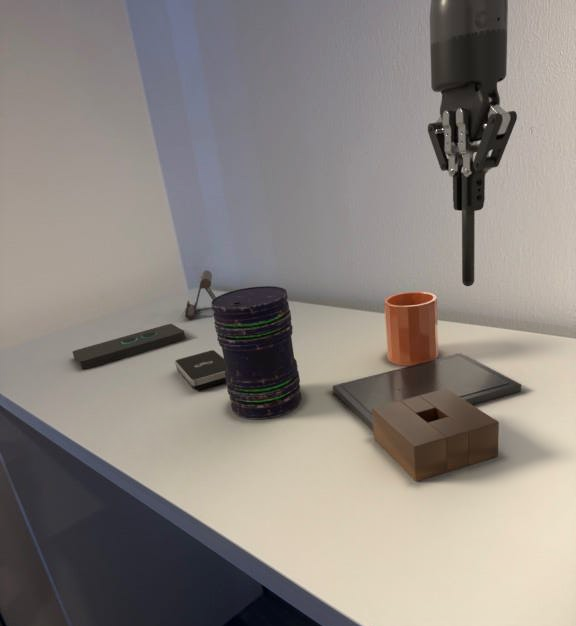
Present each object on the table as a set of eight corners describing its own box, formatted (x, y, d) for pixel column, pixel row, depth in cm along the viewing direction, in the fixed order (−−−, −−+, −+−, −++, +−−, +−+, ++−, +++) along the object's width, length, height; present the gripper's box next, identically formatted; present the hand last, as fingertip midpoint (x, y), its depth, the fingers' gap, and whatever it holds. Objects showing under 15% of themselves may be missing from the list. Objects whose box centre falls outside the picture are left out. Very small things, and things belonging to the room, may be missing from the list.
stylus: (469, 283, 67) (469, 162, 61) (476, 286, 65) (477, 162, 60) (459, 286, 66) (458, 164, 61) (466, 288, 65) (466, 164, 59)
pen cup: (421, 344, 86) (419, 288, 82) (447, 358, 79) (446, 299, 76) (379, 354, 84) (375, 298, 81) (402, 370, 78) (399, 310, 74)
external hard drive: (215, 360, 92) (213, 349, 91) (238, 380, 82) (236, 368, 82) (176, 371, 89) (173, 360, 89) (194, 393, 80) (192, 381, 79)
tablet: (460, 359, 79) (460, 352, 78) (521, 391, 67) (521, 383, 67) (333, 392, 74) (332, 385, 74) (374, 433, 63) (373, 424, 62)
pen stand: (446, 418, 63) (446, 388, 62) (498, 456, 55) (499, 422, 53) (373, 439, 61) (371, 408, 60) (415, 482, 53) (414, 447, 51)
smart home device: (185, 330, 104) (80, 361, 96) (186, 339, 105) (82, 370, 96) (170, 322, 111) (71, 350, 102) (172, 330, 112) (74, 358, 103)
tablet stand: (188, 309, 125) (181, 274, 121) (222, 304, 125) (215, 268, 122) (186, 320, 117) (178, 282, 113) (222, 315, 117) (215, 277, 114)
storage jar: (254, 384, 80) (237, 286, 74) (314, 390, 76) (301, 285, 70) (216, 415, 72) (194, 308, 66) (280, 423, 68) (262, 309, 62)
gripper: (546, 14, 50) (537, 208, 57) (461, 45, 62) (462, 201, 69) (476, 22, 48) (475, 220, 55) (402, 51, 61) (409, 211, 68)
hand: (468, 209), depth 62 cm, fingers closed on stylus, 1 cm apart
